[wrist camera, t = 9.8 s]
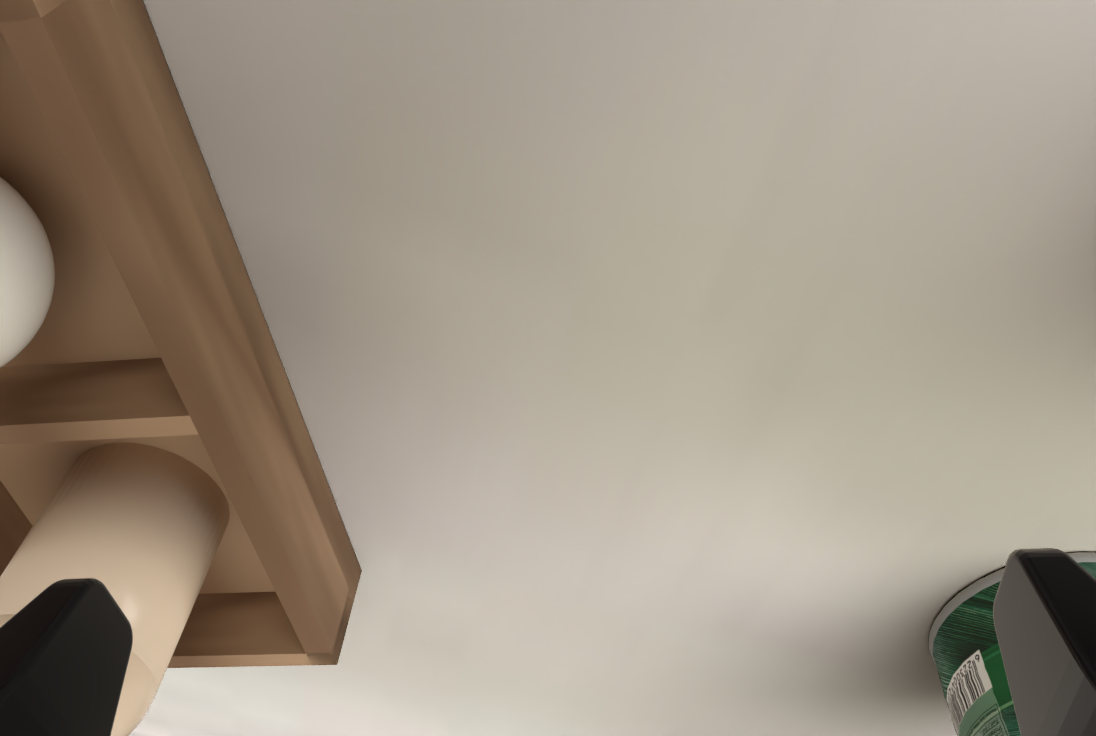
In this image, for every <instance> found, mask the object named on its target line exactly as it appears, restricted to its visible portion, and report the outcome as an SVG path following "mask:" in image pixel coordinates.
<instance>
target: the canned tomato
mask: <svg viewBox="0 0 1096 736" xmlns="http://www.w3.org/2000/svg"><path fill="white" fill-rule="evenodd" d="M1066 554H1068V555H1069V556H1070V557H1071V558H1073V559H1074V560H1075V561H1076V562H1077V563H1078V564H1079V565H1081V566H1082V567H1083V568H1084V569H1085V570H1086V571H1087V572H1088V573H1090V574H1091V575H1092V576H1093V577H1094V578H1095V579H1096V552H1076V553H1066ZM1004 569H1005V568H1003V569H1000V570H998V571H996V572H994V573H992V574H990V575H988V576H986V577H984V578H981V579H979V580H978V581H976V582H975V583H973V584H971V585H970V586H968V587H967V588H965V589H964V590H962V591H961V592H959V593H958V594H957V595H956V596H955V597H954V598H953V599H952V600H951V601H950V602H948V603H947V604H946V605H945V606H944V608H943V609H942V611H941V612H940V613H939V615H938V616H937V617H936V619H935V620H934V623H933V625H932V628H931V631H930V633H929V651H930V654H931V657H932V660H933V662H934V665H935V666H936V667H937V670H938V673H939V676H940V680H941V683H942V687H943V691H944V696H945V699H946V702H947V705H948V708H949V710H950V712H951V717H952V722H953V725H954V728H955V731H956V733H957V735H958V736H1021V733H1020V729H1019V725H1018V721H1017V717H1016V713H1015V708H1014V704H1013V700H1012V696H1011V692H1010V688H1009V684H1008V680H1007V676H1006V672H1005V667H1004V663H1003V659H1002V655H1001V651H1000V647H999V643H998V639H997V635H996V631H995V626H994V619H993V605H994V600H995V597H996V594H997V591H998V588H999V584H1000V581H1001V578H1002V575H1003V572H1004Z"/></svg>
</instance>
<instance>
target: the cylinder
mask: <svg viewBox="0 0 1096 736" xmlns="http://www.w3.org/2000/svg"><path fill="white" fill-rule="evenodd" d="M229 518H230V509H229V505H228V502H227V499H226V497H225V495H224V493H223V491H222V490H221V488H220V487H219V486H218V484H217V483H216V482H215V481H214V480H213V479H212V478H211V477H210V476H209V475H208V474H207V473H206V472H204V471H203V470H202V469H201V468H199V467H198V466H196V465H195V464H193V463H192V462H190V461H188V460H187V459H185V458H183V457H181V456H179V455H176V454H174V453H172V452H169V451H166V450H164V449H161V448H157V447H153V446H149V445H144V444H138V443H109V444H104V445H100V446H97V447H94V448H91V449H89V450H87V451H85V452H84V453H82V454H81V455H80V456H79V457H78V458H77V459H76V460H75V461H74V463H73V464H72V466H71V467H70V469H69V470H68V472H67V474H66V475H65V477H64V478H63V480H62V481H61V483H60V484H59V486H58V488H57V489H56V491H55V492H54V494H53V495H52V497H51V498H50V500H49V502H48V503H47V505H46V506H45V508H44V509H43V511H42V513H41V514H40V516H39V517H38V519H37V520H36V522H35V523H34V525H33V527H32V528H31V530H30V531H29V533H28V534H27V536H26V537H25V539H24V541H23V542H22V544H21V545H20V547H19V548H18V550H17V551H16V553H15V555H14V556H13V558H12V559H11V561H10V562H9V564H8V566H7V567H6V569H5V570H4V572H3V573H2V575H1V576H0V627H1V626H2V625H4V624H5V623H6V622H7V621H8V620H10V619H11V618H12V617H13V616H14V615H15V614H17V613H18V612H19V611H20V610H21V609H22V608H24V607H25V606H26V605H27V604H28V603H30V602H31V601H32V600H33V599H34V598H35V597H37V596H38V595H39V594H40V593H41V592H42V591H44V590H45V589H46V588H47V587H49V586H50V585H51V584H53V583H55V582H56V581H59V580H63V579H81V578H94V579H97V580H99V581H101V582H102V583H103V584H104V585H105V586H106V588H107V589H108V591H109V592H110V594H111V595H112V597H113V598H114V599H115V601H116V602H117V604H118V605H119V607H120V608H121V610H122V611H123V613H124V614H125V616H126V617H127V619H128V620H129V622H130V624H131V627H132V633H133V644H132V650H131V654H130V658H129V662H128V666H127V670H126V675H125V679H124V683H123V687H122V691H121V695H120V699H119V704H118V708H117V712H116V716H115V720H114V724H113V728H112V732H111V736H129V735H130V734H131V732H132V731H133V730H134V729H135V728H136V727H137V726H138V724H139V723H140V722H141V720H142V719H143V717H144V716H145V715H146V713H147V712H148V710H149V708H150V706H151V704H152V702H153V700H154V697H155V695H156V693H157V690H158V688H159V686H160V683H161V681H162V679H163V676H164V674H165V672H166V669H167V667H168V665H169V662H170V660H171V657H172V655H173V653H174V650H175V648H176V646H177V643H178V641H179V639H180V636H181V634H182V632H183V629H184V627H185V625H186V622H187V620H188V617H189V615H190V613H191V610H192V608H193V606H194V603H195V601H196V599H197V596H198V594H199V592H200V589H201V587H202V584H203V582H204V580H205V577H206V575H207V573H208V570H209V568H210V566H211V563H212V561H213V559H214V556H215V554H216V551H217V549H218V547H219V544H220V542H221V540H222V537H223V535H224V533H225V530H226V528H227V526H228V523H229Z"/></svg>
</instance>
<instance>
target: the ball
mask: <svg viewBox="0 0 1096 736" xmlns="http://www.w3.org/2000/svg"><path fill="white" fill-rule="evenodd" d="M54 285H55V267H54V258H53V252H52V249H51V246H50V243H49V240H48V237H47V234H46V232H45V229H44V227H43V225H42V223H41V221H40V220H39V218H38V216H37V215H36V213H35V212H34V211H33V209H32V208H31V207H30V205H29V204H28V203H27V201H26V200H25V199H24V198H23V197H22V196H21V195H20V194H19V193H18V191H17V190H15V189H14V188H13V187H12V186H11V185H10V184H9V183H8V182H6V181H5V180H4V179H2V178H1V177H0V367H2V366H4V365H5V364H6V363H8V362H9V361H11V360H12V359H13V358H15V357H16V356H17V355H18V354H19V353H20V352H21V351H22V350H23V349H24V348H25V347H26V346H27V345H28V344H29V343H30V342H31V340H32V339H33V337H34V336H35V334H36V333H37V331H38V330H39V328H40V327H41V325H42V324H43V322H44V319H45V317H46V315H47V312H48V310H49V307H50V305H51V301H52V296H53V290H54Z"/></svg>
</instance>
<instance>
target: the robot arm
mask: <svg viewBox="0 0 1096 736" xmlns="http://www.w3.org/2000/svg"><path fill="white" fill-rule="evenodd" d="M993 619H994V626H995V631H996V635H997V639H998V643H999V647H1000V651H1001V655H1002V659H1003V663H1004V667H1005V672H1006V676H1007V680H1008V684H1009V688H1010V692H1011V696H1012V700H1013V704H1014V708H1015V713H1016V717H1017V721H1018V725H1019V729H1020V733H1021V736H1096V579H1095V578H1094V577H1093V576H1092V575H1091V574H1090V573H1088V572H1087V571H1086V570H1085V569H1084V568H1083V567H1082V566H1081V565H1079V564H1078V563H1077V562H1076V561H1075V560H1074V559H1073V558H1071V557H1070V556H1069V555H1068V554H1066V553H1065V552H1063V551H1061V550H1058V549H1053V548H1043V549H1019V550H1015V551H1014V552H1013V553H1011V554H1010V556H1009V558H1008V560H1007V563H1006V566H1005V569H1004V572H1003V575H1002V578H1001V581H1000V584H999V588H998V591H997V594H996V597H995V600H994V605H993ZM132 644H133V633H132V627H131V624H130V622H129V620H128V619H127V617H126V616H125V614H124V613H123V611H122V610H121V608H120V607H119V605H118V604H117V602H116V601H115V599H114V598H113V597H112V595H111V594H110V592H109V591H108V589H107V588H106V586H105V585H104V584H103V583H102V582H101V581H99V580H97V579H94V578H81V579H63V580H59V581H56V582H55V583H53V584H51V585H50V586H49V587H47V588H46V589H45V590H44V591H42V592H41V593H40V594H39V595H38V596H37V597H35V598H34V599H33V600H32V601H31V602H30V603H28V604H27V605H26V606H25V607H24V608H22V609H21V610H20V611H19V612H18V613H17V614H15V615H14V616H13V617H12V618H11V619H10V620H8V621H7V622H6V623H5V624H4V625H2V626H1V627H0V736H111V732H112V728H113V724H114V720H115V716H116V712H117V708H118V704H119V699H120V695H121V691H122V687H123V683H124V679H125V675H126V670H127V666H128V662H129V658H130V654H131V650H132Z"/></svg>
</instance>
